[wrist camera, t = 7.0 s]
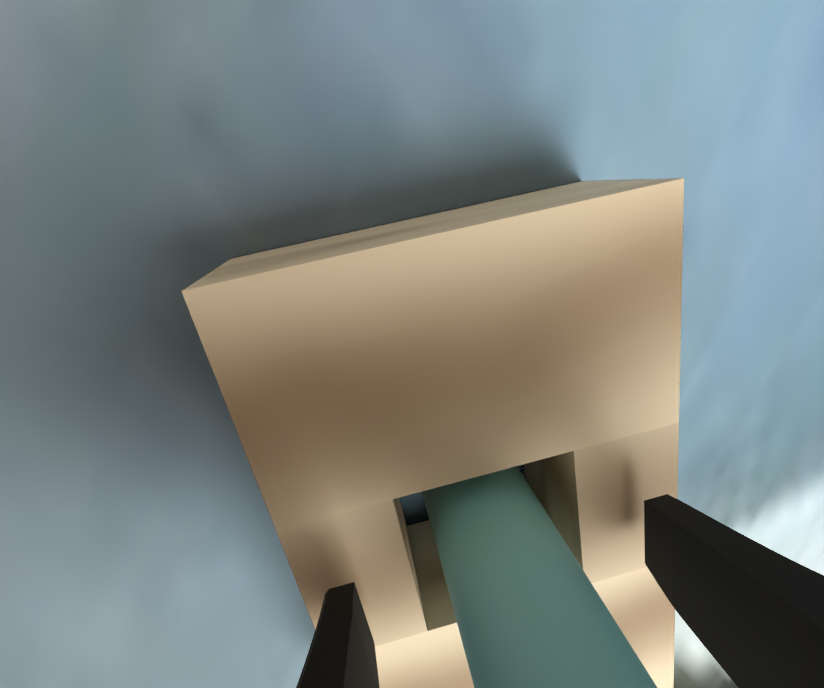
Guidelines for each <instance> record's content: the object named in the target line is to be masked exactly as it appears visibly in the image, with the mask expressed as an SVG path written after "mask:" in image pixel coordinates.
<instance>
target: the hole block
mask: <svg viewBox="0 0 824 688" xmlns="http://www.w3.org/2000/svg"><path fill="white" fill-rule="evenodd" d="M683 200H684V178H673V179H636V180H600V181H580V182H576V183H571V184H566V185H562V186H557V187H553V188H548V189H544V190H539V191H535V192H530V193H526V194H521V195H517V196H512V197H508V198H503V199H499V200H494V201H490V202H485V203H480V204H476V205H471V206H467V207H462V208H458V209H453V210H449V211H444V212H440V213H435V214H431V215H426V216H422V217H417V218H413V219H408V220H404V221H399V222H395V223H390V224H385V225H381V226H376V227H372V228H367V229H363V230H358V231H354V232H349V233H345V234H340V235H336V236H331V237H327V238H322V239H318V240H313V241H309V242H304V243H300V244H295V245H290V246H286V247H281V248H277V249H272V250H268V251H263V252H259V253H254V254H250V255H245V256H241V257H236V258H232V259H230V260H228V261H227V262H225V263H224V264H222V265H221V266H219V267H218V268H216V269H214V270H213V271H211V272H210V273H208V274H207V275H205V276H204V277H202V278H201V279H199V280H198V281H196V282H194V283H193V284H191V285H190V286H188V287H187V288H185V289H184V290H182V291H181V292H182V294H183V297H184V299H185V302H186V304H187V307H188V309H189V312H190V314H191V317H192V319H193V322H194V324H195V327H196V329H197V332H198V334H199V337H200V340H201V342H202V345H203V347H204V350H205V352H206V355H207V357H208V360H209V362H210V365H211V367H212V370H213V372H214V375H215V377H216V380H217V382H218V385H219V388H220V390H221V393H222V395H223V398H224V400H225V403H226V405H227V408H228V410H229V413H230V415H231V418H232V420H233V423H234V425H235V428H236V430H237V433H238V435H239V438H240V441H241V443H242V446H243V448H244V451H245V453H246V456H247V458H248V461H249V463H250V466H251V468H252V471H253V473H254V476H255V478H256V481H257V483H258V486H259V489H260V491H261V494H262V496H263V499H264V501H265V504H266V506H267V509H268V511H269V514H270V516H271V519H272V521H273V524H274V526H275V529H276V531H277V534H278V537H279V539H280V542H281V544H282V547H283V549H284V552H285V554H286V557H287V559H288V562H289V564H290V567H291V569H292V572H293V574H294V577H295V579H296V582H297V585H298V587H299V590H300V592H301V595H302V597H303V600H304V602H305V605H306V607H307V610H308V612H309V615H310V617H311V620H312V622H313V625H314V627H315V630H316V626H317V623H318V619H319V616H320V612H321V608H322V604H323V600H324V596H325V593H326V592H327V591H328V589H331V588H334V587H338V586H341V585H345V584H349V583H352V582H354V583H355V586H356V589H357V592H358V595H359V598H360V601H361V604H362V607H363V610H364V613H365V616H366V619H367V622H368V625H369V628H370V631H371V634H372V637H373V640H374V644H375V652H376V661H377V669H378V678H379V687H380V688H474V685H473V681H472V677H471V673H470V670H469V666H468V662H467V658H466V655H465V651H464V647H463V643H462V640H461V636H460V632H459V628H458V625H457V621H456V617H455V614H454V610H453V606H452V602H451V599H450V595H449V591H448V587H447V584H446V580H445V576H444V572H443V569H442V565H441V561H440V557H439V554H438V550H437V546H436V542H435V539H434V535H433V531H432V528H431V524H430V520H427V521H423V522H419V523H416V524H412V525H408V526H407V524H406V520H405V517H404V513H403V509H402V505H401V501H400V497H403V496H407V495H411V494H415V493H418V492H422V491H426V490H429V489H433V488H437V487H441V486H444V485H448V484H452V483H456V482H459V481H463V480H467V479H470V478H474V477H478V476H482V475H485V474H489V473H493V472H497V471H500V470H504V469H508V468H511V467H515V466H519V465H523V464H524V469H525V476H526V481H527V482H528V484H529V486H530V487H531V489H532V490H533V492H534V493H535V495H536V497H537V498H538V500H539V501H540V503H541V504H542V506H543V508H544V509H545V511H546V512H547V514H548V516H549V517H550V519H551V520H552V522H553V523H554V525H555V527H556V528H557V530H558V531H559V533H560V534H561V536H562V538H563V539H564V541H565V542H566V544H567V546H568V547H569V549H570V550H571V552H572V553H573V555H574V557H575V558H576V560H577V561H578V563H579V564H580V566H581V568H582V569H583V571H584V572H585V574H586V575H587V577H588V579H589V580H590V582H591V583H592V585H593V587H594V588H595V590H596V591H597V593H598V594H599V596H600V598H601V599H602V601H603V602H604V604H605V605H606V607H607V609H608V610H609V612H610V613H611V615H612V617H613V618H614V620H615V621H616V623H617V624H618V626H619V628H620V629H621V631H622V632H623V634H624V635H625V637H626V639H627V640H628V642H629V643H630V645H631V647H632V648H633V650H634V651H635V653H636V654H637V656H638V658H639V659H640V661H641V662H642V664H643V665H644V667H645V669H646V670H647V672H648V673H649V675H650V677H651V678H652V680H653V681H654V683H655V684H656V686H657V688H673V677H674V629H675V608H674V607H673V606H672V604H671V603H670V601H669V600H668V598H667V597H666V595H665V594H664V592H663V591H662V589H661V588H660V586H659V585H658V583H657V582H656V580H655V579H654V577H653V575H652V574H651V572H650V571H649V569H648V567H647V566H646V564H645V539H644V500H648V499H652V498H655V497H659V496H662V495H666V494H668V495H670V496H672V497H674V498H676V499H677V486H678V438H679V390H680V343H681V295H682V247H683Z"/></svg>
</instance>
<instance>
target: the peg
mask: <svg viewBox="0 0 824 688" xmlns="http://www.w3.org/2000/svg"><path fill="white" fill-rule="evenodd" d="M422 494H423V498H424V501H425V505H426V509H427V513H428V516H429V520H430V524H431V528H432V531H433V535H434V539H435V542H436V546H437V550H438V554H439V557H440V561H441V565H442V569H443V572H444V576H445V580H446V584H447V587H448V591H449V595H450V599H451V602H452V606H453V610H454V614H455V617H456V621H457V625H458V628H459V632H460V636H461V640H462V643H463V647H464V651H465V655H466V658H467V662H468V666H469V670H470V673H471V677H472V681H473V685H474V688H657V686H656V684H655V683H654V681H653V680H652V678H651V677H650V675H649V673H648V672H647V670H646V669H645V667H644V665H643V664H642V662H641V661H640V659H639V658H638V656H637V654H636V653H635V651H634V650H633V648H632V647H631V645H630V643H629V642H628V640H627V639H626V637H625V635H624V634H623V632H622V631H621V629H620V628H619V626H618V624H617V623H616V621H615V620H614V618H613V617H612V615H611V613H610V612H609V610H608V609H607V607H606V605H605V604H604V602H603V601H602V599H601V598H600V596H599V594H598V593H597V591H596V590H595V588H594V587H593V585H592V583H591V582H590V580H589V579H588V577H587V575H586V574H585V572H584V571H583V569H582V568H581V566H580V564H579V563H578V561H577V560H576V558H575V557H574V555H573V553H572V552H571V550H570V549H569V547H568V546H567V544H566V542H565V541H564V539H563V538H562V536H561V534H560V533H559V531H558V530H557V528H556V527H555V525H554V523H553V522H552V520H551V519H550V517H549V516H548V514H547V512H546V511H545V509H544V508H543V506H542V504H541V503H540V501H539V500H538V498H537V497H536V495H535V493H534V492H533V490H532V489H531V487H530V486H529V484H528V482H527V481H526V479H525V478H524V476H523V474H522V473H521V471H520V470H519V468H518V467H517V466H515V467H511V468H508V469H504V470H500V471H497V472H493V473H489V474H485V475H482V476H478V477H474V478H470V479H467V480H463V481H459V482H456V483H452V484H448V485H444V486H441V487H437V488H433V489H429V490H426V491H422Z"/></svg>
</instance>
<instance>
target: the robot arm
mask: <svg viewBox="0 0 824 688" xmlns="http://www.w3.org/2000/svg"><path fill="white" fill-rule="evenodd" d="M644 539H645V564H646V566H647V567H648V569H649V571H650V572H651V574H652V575H653V577H654V579H655V580H656V582H657V583H658V585H659V586H660V588H661V589H662V591H663V592H664V594H665V595H666V597H667V598H668V600H669V601H670V603H671V604H672V606H673V607H674V608H675V610H676V611H677V612H678V613H679V615H680V616H681V617H682V619H683V620H684V621H685V622H686V623H687V625H688V626H689V627H690V628H691V630H692V631H693V632H694V633H695V635H696V636H697V637H698V638H699V640H700V641H701V642H702V643H703V645H704V646H705V647H706V648H707V649H708V651H709V652H710V653H711V654H712V656H713V657H714V658H715V659H716V661H717V662H718V663H719V664H720V665H721V667H722V668H723V669H724V670H725V672H726V673H727V674H728V675H729V676H730V678H731V679H732V680H733V681H734V683H735V684H736V685H737V686H738V688H824V576H823V575H821V574H819V573H817V572H815V571H812V570H810V569H808V568H806V567H804V566H802V565H800V564H798V563H796V562H794V561H792V560H790V559H788V558H786V557H784V556H782V555H780V554H778V553H776V552H774V551H772V550H770V549H768V548H766V547H765V546H763V545H761V544H759V543H757V542H755V541H753V540H751V539H749V538H748V537H746V536H744V535H742V534H740V533H738V532H736V531H734V530H733V529H731V528H729V527H727V526H725V525H723V524H722V523H720V522H718V521H716V520H714V519H712V518H711V517H709V516H707V515H705V514H703V513H702V512H700V511H698V510H696V509H694V508H692V507H691V506H689V505H687V504H685V503H683V502H681V501H680V500H678V499H676V498H674V497H672V496H670V495H668V494H666V495H662V496H659V497H655V498H652V499H648V500H644ZM296 688H380V687H379V678H378V669H377V661H376V652H375V644H374V640H373V637H372V634H371V631H370V628H369V625H368V622H367V619H366V616H365V613H364V610H363V607H362V604H361V601H360V598H359V595H358V592H357V589H356V586H355V583H354V582H352V583H349V584H345V585H341V586H338V587H334V588H331V589H328V591H327V592H326V593H325V596H324V600H323V604H322V608H321V612H320V616H319V619H318V623H317V626H316V630H315V633H314V636H313V640H312V643H311V646H310V649H309V652H308V655H307V658H306V661H305V664H304V667H303V670H302V673H301V676H300V679H299V682H298V684H297V687H296Z"/></svg>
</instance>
